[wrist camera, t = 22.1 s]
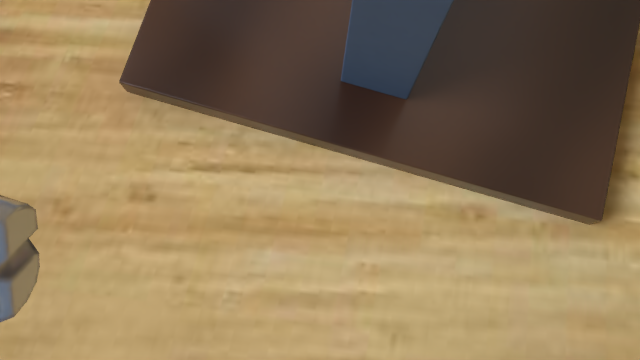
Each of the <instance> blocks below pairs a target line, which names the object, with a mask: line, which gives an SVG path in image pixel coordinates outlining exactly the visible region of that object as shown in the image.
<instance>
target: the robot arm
mask: <svg viewBox="0 0 640 360" xmlns="http://www.w3.org/2000/svg"><path fill="white" fill-rule="evenodd" d="M37 229H38V225H37V216H36V209H34V208H33V207H31V206H30V205H28V204H26V203H23V202H20V201H17V200H14V199H10V198H7V197H4V196H1V195H0V322H2V321H5V320H7V319H10V318H12V317H14V316H15V315H16V314H17V313H18V311H19V310H20V309H21V308H22V307H23V305H24V304H25V303H26V302H27V300H28V298H29V296H30V294H31V292H32V290H33V288H34V286H35V284H36V282H37V277H38V272H39V267H40V263H39V252H38V251H37V249H36V248H35V247H34V245H33V244H32V242H31V241H30V240H29V237H30V236H31V235H32V234H33V233H34V232H35V231H36V230H37Z"/></svg>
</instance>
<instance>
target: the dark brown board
mask: <svg viewBox="0 0 640 360" xmlns="http://www.w3.org/2000/svg"><path fill="white" fill-rule="evenodd" d="M351 6H352V0H151V1H150V4H149V6H148V9H147V12H146V14H145V17H144V19H143V22H142V24H141V27H140V30H139V32H138V35H137V37H136V40H135V42H134V45H133V48H132V50H131V53H130V55H129V58H128V60H127V63H126V66H125V68H124V71H123V73H122V76H121V78H120V84H121V85H122V86H123V87H124V89H125V90H126V91H127V92H130V93H134V94H137V95H141V96H144V97H148V98H151V99H155V100H158V101H162V102H165V103H169V104H172V105H176V106H179V107H183V108H186V109H189V110H193V111H196V112H200V113H203V114H207V115H210V116H214V117H217V118H221V119H224V120H228V121H231V122H235V123H238V124H242V125H245V126H249V127H252V128H256V129H259V130H262V131H266V132H269V133H273V134H276V135H280V136H283V137H287V138H290V139H294V140H297V141H301V142H304V143H308V144H311V145H315V146H318V147H322V148H325V149H329V150H332V151H335V152H339V153H342V154H346V155H349V156H353V157H356V158H360V159H363V160H367V161H370V162H374V163H377V164H381V165H384V166H388V167H391V168H395V169H398V170H402V171H405V172H408V173H412V174H415V175H419V176H422V177H426V178H429V179H433V180H436V181H440V182H443V183H447V184H450V185H454V186H457V187H461V188H464V189H468V190H471V191H474V192H478V193H481V194H485V195H488V196H492V197H495V198H499V199H502V200H506V201H509V202H513V203H516V204H520V205H523V206H527V207H530V208H534V209H537V210H541V211H544V212H547V213H551V214H554V215H558V216H561V217H565V218H568V219H572V220H575V221H579V222H582V223H586V224H593V223H596V222H599V221H601V220H602V217H603V212H604V206H605V201H606V196H607V191H608V186H609V180H610V175H611V170H612V165H613V159H614V154H615V149H616V144H617V139H618V133H619V128H620V123H621V118H622V112H623V107H624V102H625V97H626V92H627V86H628V81H629V76H630V71H631V65H632V60H633V55H634V50H635V45H636V39H637V34H638V29H639V24H640V0H454V1H453V4H452V6H451V8H450V10H449V12H448V14H447V16H446V18H445V20H444V23H443V25H442V27H441V29H440V31H439V33H438V35H437V37H436V40H435V42H434V44H433V46H432V48H431V50H430V52H429V54H428V57H427V59H426V61H425V63H424V65H423V67H422V69H421V71H420V73H419V76H418V78H417V80H416V82H415V84H414V86H413V88H412V90H411V93H410V95H409V97H408V99H402V98H399V97H395V96H392V95H388V94H385V93H381V92H377V91H374V90H370V89H367V88H363V87H360V86H356V85H353V84H349V83H346V82H342V81H341V75H342V68H343V61H344V54H345V47H346V40H347V33H348V26H349V19H350V13H351Z"/></svg>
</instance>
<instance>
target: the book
mask: <svg viewBox="0 0 640 360" xmlns="http://www.w3.org/2000/svg"><path fill="white" fill-rule="evenodd" d="M453 1H454V0H352V6H351V13H350V19H349V26H348V33H347V40H346V47H345V54H344V61H343V68H342V75H341V81H342V82H346V83H349V84H353V85H356V86H360V87H363V88H367V89H370V90H374V91H377V92H381V93H385V94H388V95H392V96H395V97H399V98H402V99H408V97H409V95H410V93H411V90H412V88H413V86H414V84H415V82H416V80H417V78H418V76H419V73H420V71H421V69H422V67H423V65H424V63H425V61H426V59H427V57H428V54H429V52H430V50H431V48H432V46H433V44H434V42H435V40H436V37H437V35H438V33H439V31H440V29H441V27H442V25H443V23H444V20H445V18H446V16H447V14H448V12H449V10H450V8H451V6H452V4H453Z"/></svg>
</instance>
